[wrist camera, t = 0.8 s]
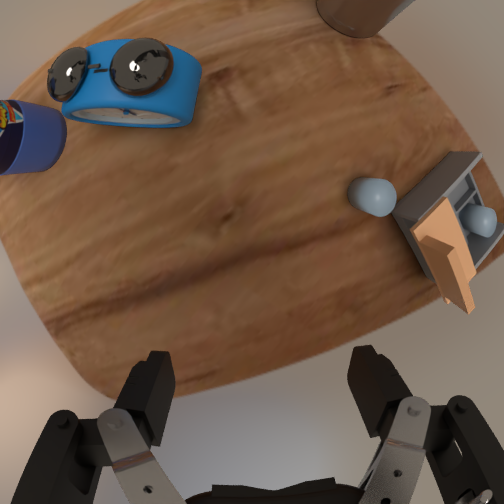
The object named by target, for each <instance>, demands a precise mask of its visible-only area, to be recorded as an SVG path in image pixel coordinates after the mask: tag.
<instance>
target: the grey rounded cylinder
mask: <svg viewBox="0 0 504 504" xmlns="http://www.w3.org/2000/svg"><path fill="white" fill-rule="evenodd" d="M459 220H460V222H461V225H462V227H463V229H465V230H468V231H471V232H473V233H476V234H479V235H481V236H484V237H487V238H488V237H490V236H492V234H493V233H494V231H495V229H496V224H497V217H496V213H495V211H494V210H493V209H491V208H487V207H484V206H480V205H475V204H471V203H467V204H466V205H465V206H464V207H463V208H462V210H461V211H460V212H459Z"/></svg>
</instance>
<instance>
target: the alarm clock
mask: <svg viewBox="0 0 504 504" xmlns="http://www.w3.org/2000/svg"><path fill="white" fill-rule="evenodd" d="M48 72H49V73H48V78H47V89H48V92H49V94H50V96H51V97H52V98H53V99H54V100H56V101H59V102H63V104H62V114H63V115H64V116H65V117H66V118H68V119H71V120H75V121H80V122H86V123H93V124H102V125H113V126H126V127H146V128H171V127H182V126H185V125H188V124H189V123H190V122H191V121H192V119H193V114H194V108H195V103H196V98H197V93H198V88H199V83H200V79H201V74H202V68H201V65H200V63H199V62H198V61H197V60H196V59H195V58H194V57H193V56H191V55H190V54H188V53H186V52H185V51H183V50H181V49H178V48H176V47H173V46H170V45H167V44H164V43H162V42H161V41H159V40H157V39H153V38H138V39H118V40H109V41H104V42H100V43H96V44H93V45H91V46H88V47H86V48H82V47H74V48H70V49H68V50H66V51H64V52H63V53H62V54H60V55H59V56H58V57H57V59H56V60H55V61H54V63H53V64H52V66H51V68H50V69H48Z"/></svg>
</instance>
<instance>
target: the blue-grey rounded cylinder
mask: <svg viewBox="0 0 504 504" xmlns="http://www.w3.org/2000/svg"><path fill="white" fill-rule="evenodd" d="M348 199H349V202H350V203H351V205H352V206H353V207H355V208H356V209H359V210H362V211H364V212H367V213H370V214H372V215H375V216H379V217H382V216H386V215H388V214H389V213H390V212H391V211H392V210H393V209H394V207H395V204H396V199H397V197H396V191H395V189H394V187H393V185H392V184H391V183H390V182H389V181H387V180H384V179H376V178H366V177H359V178H356V179H355V180H353V181H352V182H351V184H350V185H349V188H348Z"/></svg>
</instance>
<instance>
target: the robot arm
mask: <svg viewBox="0 0 504 504" xmlns="http://www.w3.org/2000/svg"><path fill="white" fill-rule="evenodd" d="M413 1H415V0H317V9H318V11H319V13H320V15H321V16H322V18H323V19H324V20H325V21H326V22H327V23H328V24H329V25H330V26H331V27H333V28H334V29H336V30H337V31H339V32H341V33H343V34H346V35H348V36H352V37H356V38H368V37H371V36H373V35H375V34H376V33H378V32H379V31H380V30H381V29H382V28H383V27H384V26H385V25H387V24H388V23H389V22H390V21H391V20H392V19H394V18H395V17H396V16H397V15H398V14H399V13H401V12H402V11H403V10H404V9H405V8H406V7H408V6H409V5H410V4H411V3H412V2H413ZM347 380H348V385H349V387H350V390H351V392H352V394H353V397H354V399H355V401H356V404H357V406H358V409H359V411H360V413H361V416H362V419H363V421H364V423H365V426H366V428H367V431H368V433H369V436H370V438H372V437H377V436H380V439H381V442H380V444H379V445H378V448H377V450H376V452H375V455H374V457H373V459H372V461H371V463H370V465H369V467H368V469H367V472H366V473H365V475H364V477H363V479H362V480H361V482H360V484H359V486H358V487H354V486H350V485H345V484H336V482H335V479H334V477H332V478H326V479H320V480H313V481H305V482H303V483H299V484H296V485H293V486H290V487H286V488H284V489H280V490H266V489H260V488H254V487H248V486H243V485H212V491H209V492H204V493H200V494H197V495H194V496H192V497H190V498H188V499H186V500H183V498H182V497H181V495H180V494H179V493H178V491H177V490H176V489H175V487H174V486H173V484H172V483H171V482H170V480H169V479H168V477H167V476H166V474H165V473H164V471H163V470H162V468H161V467H160V465H159V463H158V462H157V460H156V459H155V457H154V456H153V454H152V453H151V451H150V448H151V445H153V446H160V444H161V440H162V436H163V432H164V429H165V424H166V421H167V417H168V413H169V410H170V406H171V402H172V398H173V395H174V391H175V376H174V371H173V367H172V362H171V357H170V354H169V352H167V351H151V352H150V354H149V356H148V358H147V361H139V362H138V363H137V364H136V365H135V366H134V367H133V368H132V370H131V372H130V374H129V377H128V378H127V380H126V382H125V384H124V386H123V388H122V390H121V392H120V395H119V397H118V399H117V401H116V403H115V405H114V407H113V408H112V409H108V410H106V411H104V412H103V413H101V414H100V416H99V417H98V418H96V419H78V417H77V416H76V415H75V413H73V412H72V411H69V410H60V411H57V412H55V413H53V414H52V415H51V416H50V418H49V420H48V421H47V423H46V425H45V427H44V429H43V431H42V433H41V435H40V438H39V439H38V441H37V443H36V445H35V447H34V449H33V451H32V454H31V456H30V458H29V460H28V463H27V465H26V467H25V469H24V471H23V474H22V476H21V478H20V481H19V483H18V486H17V488H16V491H15V493H14V496H13V498H12V502H11V504H93V500H94V496H95V493H96V489H97V485H98V481H99V478H100V474H101V471H102V467H103V466H112V468H113V471H114V473H115V475H116V477H117V479H118V481H119V484H120V485H121V488H122V489H123V491H124V493H125V495H126V497H127V499H128V501H129V503H130V504H409V502H410V500H411V497H412V495H413V492H414V489H415V486H416V483H417V480H418V477H419V474H420V471H421V468H422V464H423V461H424V457H425V455H426V457H427V460H428V462H429V465H430V467H431V470H432V472H433V475H434V477H435V480H436V482H437V485H438V487H439V490H440V493H441V495H442V498H443V501H444V504H504V450H503V449H502V447H501V445H500V443H499V442H498V440H497V438H496V437H495V435H494V433H493V432H492V430H491V429H490V427H489V425H488V424H487V422H486V421H485V419H484V418H483V416H482V415H481V413H480V411H479V410H478V408H477V407H476V405H475V404H474V403H473V401H472V400H471V399H469V398H468V397H466V396H462V395H457V396H454V397H452V398H451V399H450V400H449V402H448V404H447V405H441V406H439V405H438V406H430V405H429V403H428V402H427V401H425V400H424V399H422V398H420V397H416V396H413V395H412V393H411V392H410V390H409V389H408V387H407V385H406V384H405V383H404V381H403V379H402V378H401V376H400V375H399V373H398V371H397V370H396V369H395V367H394V365H393V364H392V362H391V361H390V360H389V359H388V358H386V357H385V356H384V355H382V354H379V355H378V354H377V353H376V351H375V349H374V348H373V346H372V345H365V346H356V347H354V349H353V352H352V357H351V361H350V365H349V369H348V374H347ZM455 440H456V442H457V444H458V446H459V448H460V450H461V452H462V455H461V453H460V451H459V449H458V447H457V446H456V443H455Z"/></svg>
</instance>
